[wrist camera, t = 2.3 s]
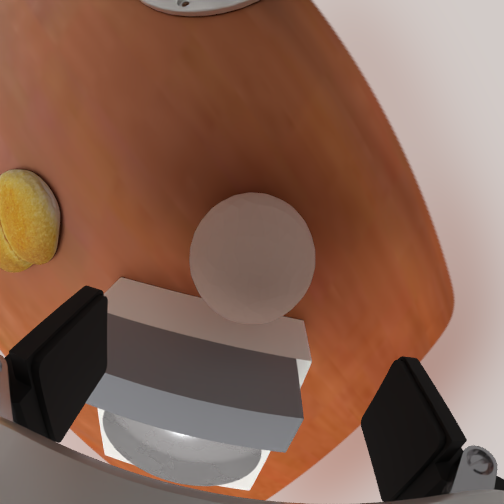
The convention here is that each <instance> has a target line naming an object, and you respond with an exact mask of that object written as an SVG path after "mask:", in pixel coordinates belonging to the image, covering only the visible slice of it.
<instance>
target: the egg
mask: <svg viewBox="0 0 504 504" xmlns="http://www.w3.org/2000/svg"><path fill="white" fill-rule="evenodd" d="M189 263H190V270H191V277H192V279H193V281H194V284H195V286H196V288H197V291H198V292H199V294H200V296H201V297H202V298H203V300H204V301H205V302H206V304H207V305H208V306H209V307H210V308H211V309H212V310H213V311H214V312H216V313H217V314H219V315H220V316H222V317H224V318H225V319H228V320H231V321H234V322H237V323H240V324H251V325H254V324H264V323H269V322H271V321H273V320H276V319H278V318H280V317H282V316H283V315H285V314H286V313H287V312H289V311H290V310H292V308H293V307H294V306H295V305H296V304H297V303H298V302H299V301H300V300H301V299H302V298H303V296H304V295H305V293H306V291H307V290H308V288H309V286H310V284H311V280H312V277H313V273H314V270H315V247H314V243H313V239H312V236H311V233H310V231H309V229H308V226H307V224H306V222H305V221H304V219H303V218H302V217H301V216H300V214H299V213H298V212H297V211H296V210H295V209H294V208H293V207H292V206H291V205H289V204H288V203H286V202H285V201H283V200H281V199H279V198H276V197H273V196H271V195H268V194H264V193H252V192H249V193H244V194H238V195H234V196H232V197H230V198H228V199H226V200H224V201H221V202H220V203H218V204H217V205H216V206H214V207H213V208H211V209H210V211H209V212H208V213H207V214H206V215H205V217H204V218H203V219H202V220H201V222H200V224H199V225H198V227H197V229H196V231H195V233H194V236H193V240H192V243H191V247H190V258H189Z"/></svg>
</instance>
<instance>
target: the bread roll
mask: <svg viewBox="0 0 504 504" xmlns="http://www.w3.org/2000/svg"><path fill="white" fill-rule="evenodd" d="M59 227H60V210H59V207H58V203H57V201H56V198H55V197H54V195H53V193H52V191H51V190H50V188H49V187H48V185H47V184H46V183H45V182H44V181H43V180H42V179H41V178H40V177H39V176H37V175H36V174H34V173H33V172H31V171H28V170H23V169H21V170H19V169H15V170H9V171H7V172H4V173H3V174H1V175H0V268H1V269H3V270H5V271H7V272H21V271H23V270H26V269H27V268H29V267H30V266H31V265H32V264H37V265H41V264H44V263H47V262H48V261H50V260H51V259H52V257H53V256H54V254H55V252H56V249H57V244H58V237H59Z"/></svg>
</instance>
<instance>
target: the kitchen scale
mask: <svg viewBox="0 0 504 504" xmlns="http://www.w3.org/2000/svg"><path fill="white" fill-rule="evenodd" d="M104 296H106V297H107V299H108V313H107V369H106V372H105V374H104V375H103V377H102V378H101V380H100V381H99V383H98V384H97V386H96V388H95V389H94V391H93V392H92V394H91V395H90V397H89V398H88V400H87V401H86V404H89V405H92V406H94V407H97V408H98V415H99V422H100V428H101V435H102V441H103V447H104V452H105V455H107V456H109V457H112V458H115V459H118V460H121V461H124V462H127V463H130V464H132V463H131V462H129V461H128V460H127V459H126V458H124V457H123V456H122V455H121V454H120V453H119V452H118V451H117V450H116V449H115V448H114V446H113V445H112V444H111V443H110V441H109V439H108V438H107V436H106V433H105V431H104V427H103V414H104V411H108V412H110V413H113V414H116V415H119V416H122V417H125V418H128V419H131V420H134V421H137V422H141V423H144V424H147V425H150V426H154V427H157V428H161V429H165V430H168V431H172V432H176V433H180V434H184V435H188V436H192V437H196V438H201V439H205V440H210V441H215V442H220V443H225V444H230V445H236V446H242V447H248V448H255V449H261V459H260V461H259V464H258V465H257V467H256V468H255V469H254V470H253V471H252V472H251V473H250V474H248V475H247V476H245V477H244V478H242V479H240V480H237V481H234V482H231V483H227V484H222V485H217V486H223V487H229V488H235V489H242V490H250V489H251V487H252V485H253V483H254V482H255V480H256V478H257V476H258V474H259V472H260V470H261V468H262V467H263V465H264V463H265V461H266V459H267V457H268V455H269V453H270V451H277V452H286V451H287V449H288V447H289V445H290V443H291V442H292V440H293V438H294V436H295V434H296V432H297V431H298V429H299V427H300V425H301V423H302V421H303V419H304V417H303V408H302V400H301V392H300V388H301V386H302V383H303V381H304V379H305V376H306V374H307V372H308V369H309V367H310V365H311V362H312V359H311V354H310V349H309V344H308V339H307V334H306V329H305V324H304V320H299V319H294V318H289V317H284V316H282V317H280V318H278V319H276V320H273V321H271V322H269V323H264V324H254V325H251V324H240V323H237V322H234V321H231V320H228V319H225V318H224V317H222V316H220V315H219V314H217V313H216V312H214V311H213V310H212V309H211V308H210V307H209V306H208V305H207V304H206V302H205V301H204V300H203V298H199V297H195V296H191V295H187V294H183V293H179V292H175V291H171V290H167V289H164V288H160V287H156V286H152V285H148V284H145V283H141V282H137V281H134V280H130V279H126V278H123V277H120V278H119V279H118V280H117V281H116V282H115V283H114V284H113V285H112V286H111V287H110V288H109V289H108V290H107V292H106V293H105V294H104ZM133 465H134V464H133Z"/></svg>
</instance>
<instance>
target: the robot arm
mask: <svg viewBox="0 0 504 504" xmlns="http://www.w3.org/2000/svg"><path fill="white" fill-rule="evenodd" d="M140 1H141V2H142V3H143V4H145V5H147V6H149V7H151V8H153V9H155V10H157V11H160V12H164V13H168V14H171V15H180V16H208V15H214V14H221V13H226V12H229V11H233V10H236V9H240V8H243V7H245V6H247V5H250V4H252V3H255V2H257V1H259V0H140ZM186 4H189V5H187V6H185V7H184V5H186ZM107 313H108V299H107V297H106V296H104V294H103V291H102V290H99V289H96V288H93V287H90V286H84V287H83V288H82V289H80V290H79V291H78V292H77V293H76V294H74V295H73V296H72V297H71V298H69V299H68V300H67V301H66V302H65V303H63V304H62V305H61V306H60V307H59V308H57V309H56V310H55V311H54V312H53V313H52V314H50V315H49V316H48V317H47V318H46V319H45V320H43V321H42V322H41V323H40V324H39V325H38V326H37V327H35V328H34V329H33V330H32V331H31V332H30V333H29V334H27V335H26V336H25V337H24V338H23V339H22V340H21V341H20V342H19V343H17V344H16V345H15V346H14V347H13V348H12V349H11V350H10V351H9V354H8V355H7V356H6V357H5V358H3V356H1V355H0V504H303V503H286V502H274V501H264V500H256V499H248V498H241V497H234V496H228V495H222V494H216V493H211V492H206V491H201V490H196V489H192V488H187V487H183V486H179V485H175V484H171V483H167V482H163V481H160V480H156V479H152V478H149V477H146V476H142V475H139V474H136V473H133V472H130V471H127V470H124V469H121V468H118V467H115V466H113V465H110V464H107V463H104V462H102V461H99V460H97V459H94V458H92V457H89V456H86V455H84V454H81V453H79V452H77V451H74V450H72V449H69V448H67V447H65V446H63V445H61V444H58V443H59V442H61V441H62V439H63V438H64V436H65V434H66V433H67V431H68V430H69V428H70V426H71V425H72V423H73V422H74V420H75V419H76V417H77V415H78V414H79V412H80V411H81V409H82V408H83V406H84V404H85V403H86V401H87V400H88V398H89V397H90V395H91V394H92V392H93V391H94V389H95V388H96V386H97V384H98V383H99V381H100V380H101V378H102V377H103V375H104V374H105V372H106V369H107ZM361 427H362V431H363V434H364V437H365V441H366V444H367V448H368V451H369V455H370V458H371V462H372V466H373V469H374V473H375V476H376V480H377V484H378V487H379V492H380V495H381V499H382V501H383V502H379V503H362V504H504V479H502V478H500V477H498V476H496V475H497V463H496V460H495V458H494V457H493V455H492V454H491V453H490V452H489V451H487V450H486V449H484V448H482V447H479V446H469V447H467V448H466V449H465V450H464V451H463V450H462V448H461V447H462V445H463V444H464V443H465V442H466V438H465V436H464V434H463V432H462V431H461V429H460V427H459V426H458V424H457V423H456V420H455V419H454V417H453V415H452V413H451V412H450V410H449V408H448V407H447V405H446V403H445V402H444V400H443V398H442V397H441V395H440V394H439V392H438V391H437V389H436V387H435V385H434V384H433V382H432V381H431V379H430V378H429V376H428V374H427V373H426V371H425V370H424V368H423V366H422V365H421V363H420V362H419V360H418V359H417V358H411V357H403V356H402V357H400V358H399V359H398V360H395V361H394V362H393V364H392V365H391V367H390V369H389V371H388V373H387V375H386V377H385V379H384V381H383V382H382V384H381V386H380V388H379V390H378V391H377V393H376V395H375V397H374V398H373V400H372V402H371V403H370V405H369V407H368V409H367V410H366V412H365V414H364V415H363V417H362V420H361ZM56 442H58V443H56Z"/></svg>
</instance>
